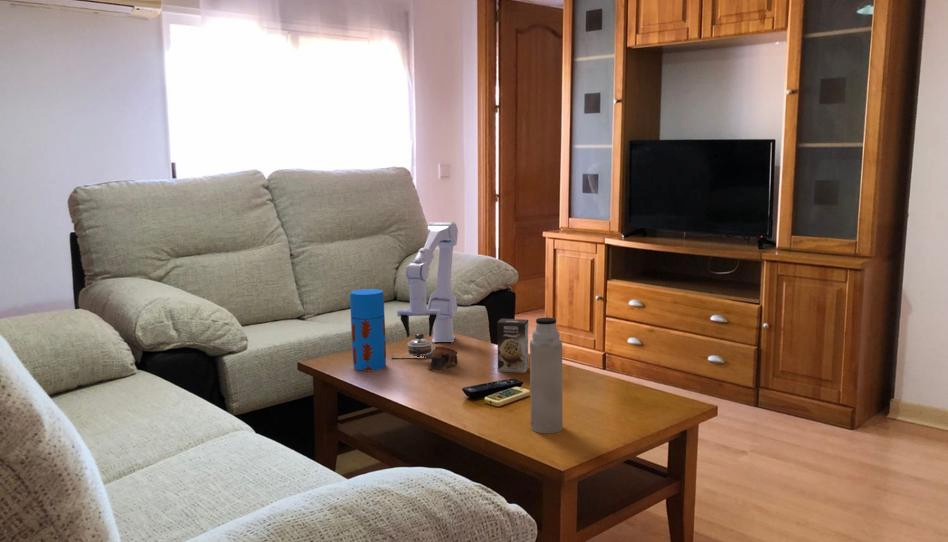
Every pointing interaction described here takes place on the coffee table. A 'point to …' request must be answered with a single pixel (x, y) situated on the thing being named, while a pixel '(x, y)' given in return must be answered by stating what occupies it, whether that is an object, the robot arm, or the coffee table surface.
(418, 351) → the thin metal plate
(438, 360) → the brown animal figurine
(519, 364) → the grey cardboard box
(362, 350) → the thermos
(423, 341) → the silver lid with knob
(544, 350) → the thermos bottle
